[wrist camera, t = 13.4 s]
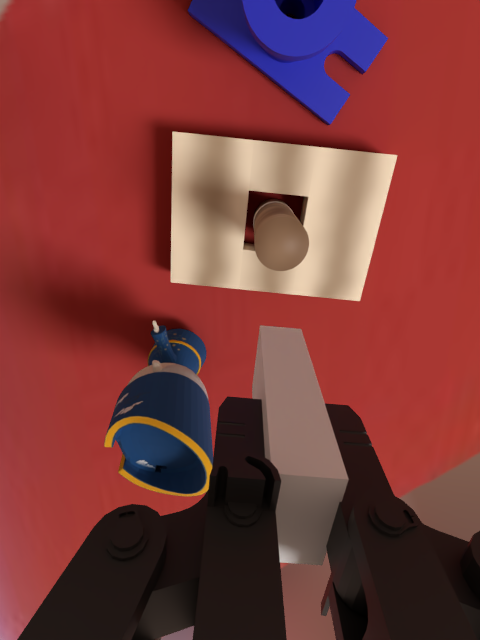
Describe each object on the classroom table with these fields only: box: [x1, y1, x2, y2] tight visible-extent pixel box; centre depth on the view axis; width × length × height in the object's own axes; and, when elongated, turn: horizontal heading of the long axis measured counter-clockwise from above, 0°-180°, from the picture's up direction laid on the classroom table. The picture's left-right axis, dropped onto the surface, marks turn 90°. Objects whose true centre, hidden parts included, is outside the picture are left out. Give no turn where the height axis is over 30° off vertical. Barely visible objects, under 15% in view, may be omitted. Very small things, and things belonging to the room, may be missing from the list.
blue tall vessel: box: [104, 321, 213, 496], centre depth 34 cm, size 13×9×20 cm
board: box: [171, 132, 397, 301], centre depth 35 cm, size 20×14×3 cm
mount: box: [188, 0, 388, 125], centre depth 26 cm, size 15×8×9 cm, turn 57°
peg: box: [253, 199, 309, 271], centre depth 31 cm, size 4×4×12 cm
